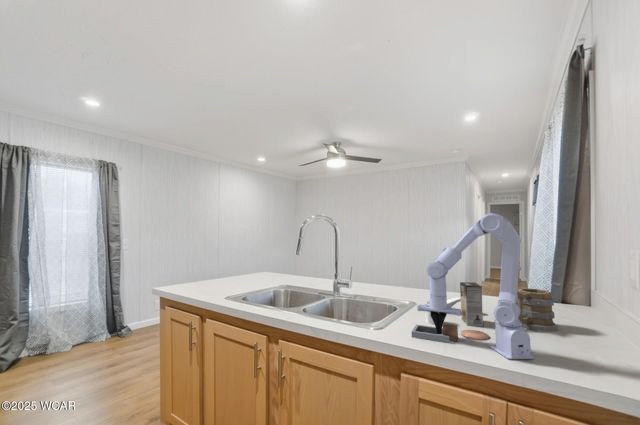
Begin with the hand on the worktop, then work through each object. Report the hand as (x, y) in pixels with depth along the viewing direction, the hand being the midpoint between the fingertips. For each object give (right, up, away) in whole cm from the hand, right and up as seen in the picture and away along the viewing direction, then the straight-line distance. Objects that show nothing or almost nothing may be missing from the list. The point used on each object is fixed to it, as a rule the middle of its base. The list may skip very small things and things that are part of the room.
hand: (439, 333), depth 106 cm
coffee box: (+20, -3, +16) cm, 26 cm away
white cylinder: (+4, -3, +17) cm, 18 cm away
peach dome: (+13, -1, +1) cm, 14 cm away
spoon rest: (+20, -4, +34) cm, 40 cm away
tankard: (+40, -2, +11) cm, 42 cm away
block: (+3, -1, -2) cm, 4 cm away
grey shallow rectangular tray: (-2, -2, +1) cm, 3 cm away
